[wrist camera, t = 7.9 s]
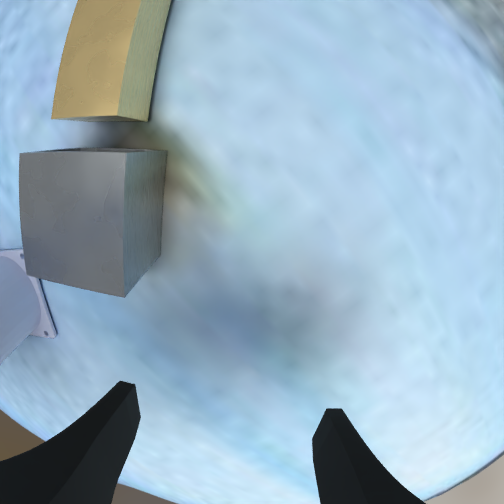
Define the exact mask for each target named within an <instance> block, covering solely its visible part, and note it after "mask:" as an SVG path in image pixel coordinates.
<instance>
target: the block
mask: <svg viewBox="0 0 504 504" xmlns="http://www.w3.org/2000/svg"><path fill="white" fill-rule="evenodd" d="M170 3H171V0H78V2H77V5H76V8H75V11H74V14H73V17H72V20H71V24H70V27H69V30H68V34H67V38H66V42H65V46H64V50H63V54H62V58H61V63H60V68H59V73H58V78H57V83H56V89H55V95H54V102H53V109H52V117H51V119H58V120H73V121H85V122H102V121H148V115H149V108H150V101H151V94H152V88H153V82H154V76H155V70H156V65H157V60H158V55H159V50H160V45H161V40H162V36H163V31H164V27H165V23H166V19H167V15H168V11H169V7H170Z"/></svg>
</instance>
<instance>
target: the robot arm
mask: <svg viewBox="0 0 504 504" xmlns="http://www.w3.org/2000/svg"><path fill="white" fill-rule="evenodd" d="M23 255H24V253H23V249H12V250H0V365H1V364H2V363H3V362H4V361H5V360H6V358H7V357H8V356H9V355H10V354H11V353H12V352H13V351H14V350H15V349H16V348H17V347H18V346H19V345H20V344H21V343H22V342H23V341H24V340H25V339H26V338H27V337H28V336H29V335H34V336H39V337H45V338H52V339H54V338H55V337H56V336H57V333H56V330H55V328H54V325H53V322H52V319H51V316H50V313H49V310H48V307H47V304H46V301H45V298H44V295H43V292H42V288H41V285H40V281H39V278H36V277H32V276H28V275H27V274H26V268H25V261H24V256H23ZM140 418H141V416H140V410H139V405H138V399H137V393H136V387H135V384H131V383H127V382H123V381H119V382H118V383H117V384H116V385H115V386H114V387H113V388H112V389H111V390H110V391H109V392H108V393H107V394H106V395H105V396H104V397H103V398H101V399H100V400H99V401H98V402H97V403H96V404H95V405H94V406H93V407H92V408H90V409H89V410H88V411H87V412H86V413H85V414H84V415H82V416H81V417H80V418H79V419H77V420H76V421H75V422H74V423H72V424H71V425H70V426H68V427H67V428H66V429H64V430H63V431H62V432H60V433H59V434H57V435H56V436H54V437H52V438H51V439H49V440H48V441H46V442H44V443H42V444H40V445H39V446H37V447H35V448H33V449H31V450H29V451H26V452H24V453H22V454H20V455H17V456H14V457H12V458H9V459H6V460H3V461H0V504H111V502H112V498H113V494H114V490H115V487H116V484H117V481H118V478H119V476H120V474H121V471H122V469H123V466H124V464H125V461H126V459H127V457H128V454H129V452H130V449H131V447H132V444H133V442H134V440H135V436H136V433H137V429H138V426H139V422H140ZM312 446H313V463H314V469H315V475H316V480H317V486H318V492H319V498H320V503H321V504H426V503H424V502H423V501H422V500H420V499H419V498H418V497H416V496H415V495H414V494H412V493H411V492H410V491H408V490H407V489H406V488H405V487H404V486H403V485H401V484H400V483H399V482H398V481H397V480H396V479H395V478H394V477H393V476H392V475H391V474H390V473H389V472H388V471H387V469H386V468H385V467H384V466H383V465H382V464H381V463H380V461H379V460H378V459H377V458H376V457H375V455H374V454H373V453H372V451H371V450H370V449H369V447H368V446H367V445H366V443H365V442H364V441H363V439H362V438H361V437H360V435H359V434H358V432H357V431H356V429H355V428H354V426H353V425H352V423H351V422H350V420H349V419H348V417H347V416H346V414H345V413H344V411H343V410H342V409H326V411H325V413H324V415H323V417H322V419H321V421H320V424H319V426H318V428H317V430H316V432H315V434H314V436H313V438H312Z"/></svg>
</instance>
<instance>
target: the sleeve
mask: <svg viewBox="0 0 504 504" xmlns="http://www.w3.org/2000/svg"><path fill="white" fill-rule="evenodd" d="M166 161H167V151H166V150H149V149H126V148H68V149H56V150H45V151H35V152H27V153H20V159H19V203H20V222H21V234H22V244H23V253H24V261H25V268H26V274H27V275H28V276H32V277H36V278H40V279H44V280H48V281H52V282H56V283H60V284H64V285H68V286H73V287H77V288H81V289H86V290H90V291H95V292H100V293H104V294H109V295H114V296H119V297H124V298H125V297H126V295H127V294H128V293H129V292H130V291H131V289H132V288H133V287H134V286H135V285H136V283H137V282H138V281H139V280H140V279H141V277H142V276H143V275H144V274H145V273H146V271H147V270H148V269H149V268H150V267H151V266H152V264H153V263H154V262H155V261H156V260H157V259H158V257H159V256H160V251H161V227H162V210H163V195H164V182H165V171H166Z"/></svg>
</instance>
